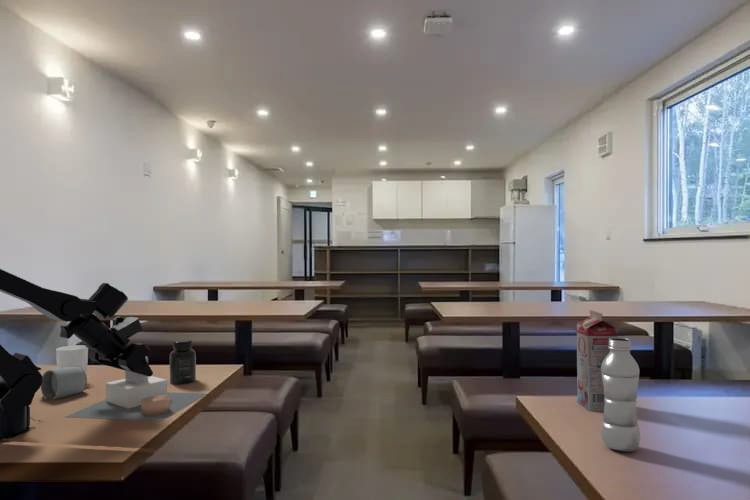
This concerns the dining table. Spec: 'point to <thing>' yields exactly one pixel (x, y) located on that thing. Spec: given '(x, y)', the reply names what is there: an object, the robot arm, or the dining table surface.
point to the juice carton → (592, 360)
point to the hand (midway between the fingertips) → (142, 372)
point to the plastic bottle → (620, 397)
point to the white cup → (72, 357)
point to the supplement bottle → (182, 363)
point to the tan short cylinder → (155, 405)
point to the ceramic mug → (63, 382)
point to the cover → (134, 389)
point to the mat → (136, 409)
